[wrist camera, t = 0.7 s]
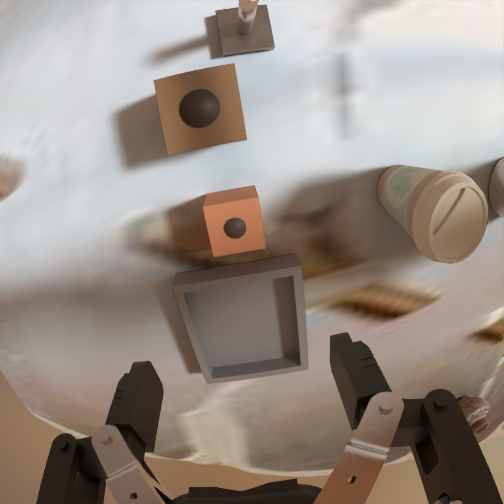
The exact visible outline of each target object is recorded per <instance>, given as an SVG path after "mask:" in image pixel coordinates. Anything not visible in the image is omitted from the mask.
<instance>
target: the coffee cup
mask: <svg viewBox="0 0 504 504" xmlns="http://www.w3.org/2000/svg"><path fill="white" fill-rule="evenodd" d="M377 196H378V200H379V202H380V204H381V205H382V207H383V208H384V209H385V210H386V211H387V212H388V213H389V214H390V215H391V216H392V217H393V218H394V219H395V220H396V221H397V222H398V224H399V225H400V226H401V227H402V228H403V229H404V230H405V231H406V232H407V233H408V234H409V235H410V237H411V238H412V239H413V240H414V242H415V245H416V247H417V248H418V250H419V251H420V252H421V253H422V254H423V255H424V256H425V257H427V258H429V259H431V260H433V261H436V262H444V263H448V264H453V263H457V262H460V261H462V260H464V259H465V258H467V257H468V256H469V255H470V254H472V252H473V251H474V250H475V249H476V248H477V246H478V245H479V243H480V242H481V240H482V238H483V235H484V233H485V230H486V226H487V221H488V206H487V201H486V198H485V195H484V193H483V192H482V190H481V189H480V188H479V187H478V186H477V184H476V183H475V182H474V181H473V180H472V179H471V178H470V177H469V176H467V175H466V174H464V173H462V172H460V171H456V170H448V171H439V170H432V169H426V168H419V167H412V166H404V165H395V166H392V167H390V168H388V169H387V170H386V171H385V172H384V173H383V174H382V176H381V177H380V179H379V182H378V186H377Z"/></svg>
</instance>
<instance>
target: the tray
mask: <svg viewBox="0 0 504 504" xmlns="http://www.w3.org/2000/svg"><path fill="white" fill-rule="evenodd" d="M172 289H173V292H174V295H175V298H176V301H177V304H178V307H179V310H180V313H181V316H182V319H183V322H184V324H185V327H186V330H187V333H188V336H189V338H190V341H191V344H192V347H193V349H194V352H195V355H196V357H197V360H198V363H199V365H200V368H201V370H202V373H203V376H204V378H205V381H206V383H207V384H211V383H220V382H229V381H237V380H245V379H252V378H259V377H266V376H272V375H278V374H284V373H290V372H296V371H301V370H306V369H309V367H308V347H307V330H306V315H305V301H304V288H303V276H302V266H301V263H300V261H299V259H298V257H297V254H292V255H286V256H280V257H274V258H268V259H262V260H256V261H250V262H244V263H238V264H232V265H225V266H219V267H213V268H207V269H201V270H194V271H188V272H182V273H176V275H175V279H174V282H173V285H172Z"/></svg>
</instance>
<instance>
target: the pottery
mask: <svg viewBox="0 0 504 504" xmlns="http://www.w3.org/2000/svg"><path fill="white" fill-rule="evenodd" d="M458 404H459V406H460V408H461V409H462V411H463V413H464V415H465V417H466V419H467V421H468V423H469V425H470V427H471V429H472V431H473V434H474V436H475V437H477V436H478V435H480V434H481V433H482V432H483V431H485V429H486V428H487V427H488V426H489V424H490V423H489V421H488V420H487V419H486V418H485V417H486V415H487V413H488V411H489V408H490V404H489V403H488V402H487V401H486V400H485V399H482V398H479V397H472V396H471V395H466V396H464V397H463V398H461V399H460V400H459V401H458Z"/></svg>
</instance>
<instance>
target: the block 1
mask: <svg viewBox="0 0 504 504" xmlns="http://www.w3.org/2000/svg"><path fill="white" fill-rule="evenodd" d="M154 85H155V91H156V96H157V102H158V108H159V113H160V119H161V124H162V129H163V135H164V140H165V145H166V150H167V155H171V154H176V153H180V152H185V151H190V150H194V149H199V148H204V147H210V146H215V145H220V144H226V143H232V142H238V141H244V140H247V137H246V130H245V124H244V118H243V112H242V106H241V100H240V94H239V88H238V82H237V76H236V70H235V65H234V63H233V64H227V65H221V66H215V67H210V68H205V69H199V70H195V71H190V72H185V73H181V74H177V75H173V76H169V77H165V78H161V79H157V80H154Z"/></svg>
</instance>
